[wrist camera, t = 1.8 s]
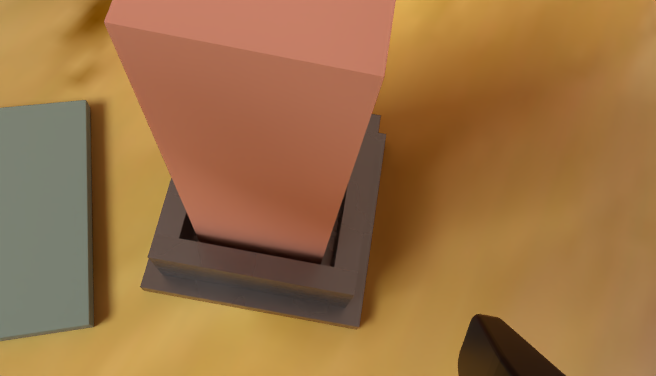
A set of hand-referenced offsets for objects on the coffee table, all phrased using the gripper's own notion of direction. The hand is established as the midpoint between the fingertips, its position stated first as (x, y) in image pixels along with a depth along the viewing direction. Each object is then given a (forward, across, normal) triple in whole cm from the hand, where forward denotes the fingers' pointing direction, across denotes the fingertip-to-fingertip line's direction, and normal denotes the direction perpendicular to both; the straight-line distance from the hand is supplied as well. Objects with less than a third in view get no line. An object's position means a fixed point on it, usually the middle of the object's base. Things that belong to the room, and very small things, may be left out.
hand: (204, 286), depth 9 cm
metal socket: (+12, 0, +4) cm, 13 cm away
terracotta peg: (+12, 0, +4) cm, 12 cm away
